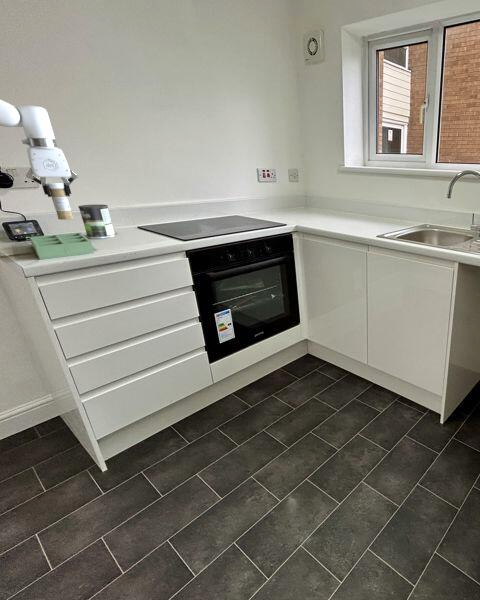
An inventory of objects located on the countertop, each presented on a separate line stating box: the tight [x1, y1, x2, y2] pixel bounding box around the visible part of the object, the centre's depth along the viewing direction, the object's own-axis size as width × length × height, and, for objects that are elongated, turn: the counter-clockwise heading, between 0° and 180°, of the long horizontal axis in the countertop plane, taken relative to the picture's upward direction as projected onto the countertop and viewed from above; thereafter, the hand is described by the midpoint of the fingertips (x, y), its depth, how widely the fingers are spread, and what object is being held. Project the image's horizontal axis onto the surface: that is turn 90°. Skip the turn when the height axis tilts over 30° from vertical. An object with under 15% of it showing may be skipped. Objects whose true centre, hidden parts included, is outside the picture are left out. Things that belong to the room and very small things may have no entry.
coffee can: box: [77, 204, 116, 240], centre depth 161 cm, size 10×10×14 cm
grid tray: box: [29, 232, 95, 260], centre depth 138 cm, size 15×23×5 cm
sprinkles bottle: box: [46, 182, 74, 221], centre depth 134 cm, size 5×5×14 cm
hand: (58, 195), depth 133 cm, fingers closed on sprinkles bottle, 4 cm apart
